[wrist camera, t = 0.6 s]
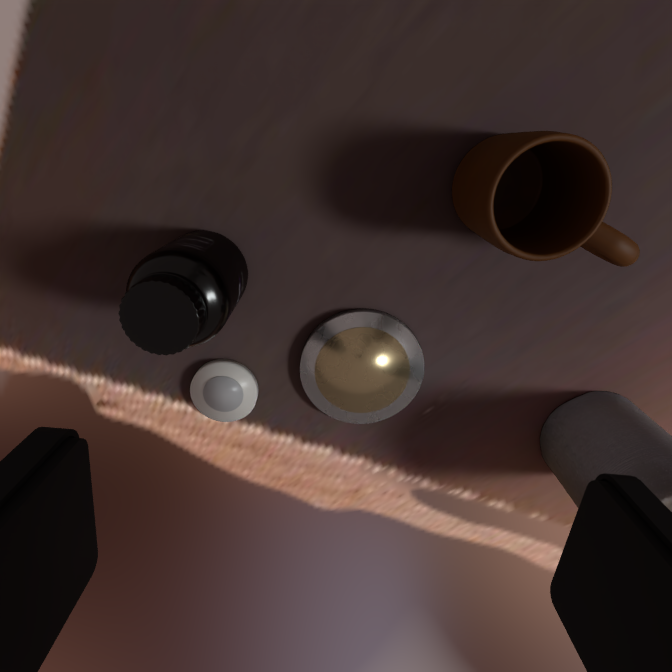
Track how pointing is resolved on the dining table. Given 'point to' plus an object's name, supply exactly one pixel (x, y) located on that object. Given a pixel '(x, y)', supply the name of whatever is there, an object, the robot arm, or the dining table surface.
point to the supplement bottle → (183, 292)
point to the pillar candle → (606, 444)
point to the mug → (540, 197)
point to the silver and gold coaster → (361, 366)
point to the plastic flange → (224, 390)
